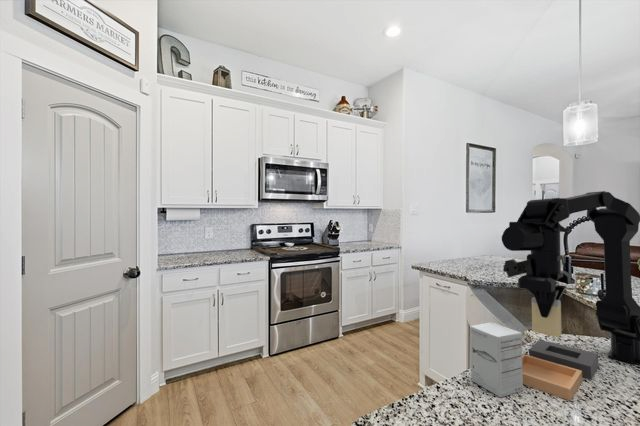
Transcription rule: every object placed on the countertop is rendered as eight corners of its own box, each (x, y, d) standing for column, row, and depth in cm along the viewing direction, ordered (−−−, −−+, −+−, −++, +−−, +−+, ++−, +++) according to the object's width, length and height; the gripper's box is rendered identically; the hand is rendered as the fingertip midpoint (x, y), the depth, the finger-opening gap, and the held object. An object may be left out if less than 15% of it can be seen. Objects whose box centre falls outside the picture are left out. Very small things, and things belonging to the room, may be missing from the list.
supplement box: (470, 381, 67) (468, 325, 68) (493, 374, 70) (492, 321, 70) (499, 399, 60) (497, 336, 61) (524, 391, 63) (522, 331, 63)
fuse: (536, 328, 73) (535, 296, 74) (561, 334, 69) (560, 300, 70) (532, 331, 71) (531, 297, 72) (557, 337, 67) (557, 302, 68)
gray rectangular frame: (540, 350, 83) (540, 339, 83) (598, 366, 74) (598, 353, 74) (529, 361, 76) (528, 349, 77) (591, 379, 67) (590, 366, 67)
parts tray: (522, 362, 76) (522, 353, 76) (582, 381, 67) (582, 370, 67) (506, 378, 68) (505, 368, 68) (570, 401, 59) (570, 389, 59)
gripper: (520, 247, 83) (520, 302, 83) (493, 249, 71) (493, 314, 71) (570, 249, 75) (572, 312, 74) (549, 253, 63) (551, 327, 62)
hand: (546, 315), depth 70 cm, fingers closed on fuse, 3 cm apart
